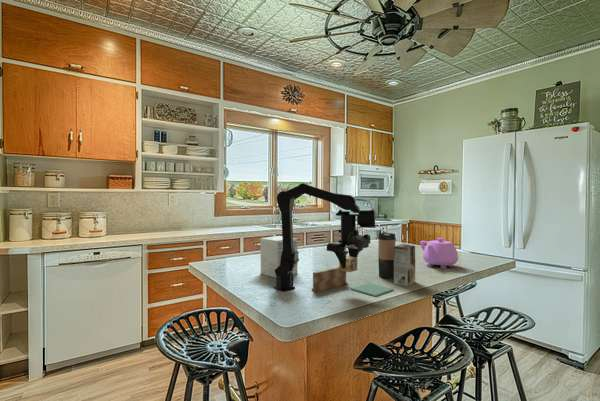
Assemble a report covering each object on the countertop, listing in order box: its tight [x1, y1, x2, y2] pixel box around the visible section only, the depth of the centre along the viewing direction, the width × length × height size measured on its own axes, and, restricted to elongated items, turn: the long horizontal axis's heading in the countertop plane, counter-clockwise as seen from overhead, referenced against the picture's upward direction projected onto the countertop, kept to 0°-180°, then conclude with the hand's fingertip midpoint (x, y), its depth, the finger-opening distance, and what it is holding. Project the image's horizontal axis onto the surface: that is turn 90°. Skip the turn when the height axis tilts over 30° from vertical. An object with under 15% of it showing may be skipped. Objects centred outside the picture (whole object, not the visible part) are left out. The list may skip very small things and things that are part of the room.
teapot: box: [419, 237, 459, 270], centre depth 170 cm, size 20×20×15 cm
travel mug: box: [377, 232, 396, 280], centre depth 148 cm, size 8×8×20 cm
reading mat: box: [350, 282, 394, 298], centre depth 127 cm, size 12×12×1 cm
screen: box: [311, 266, 349, 293], centre depth 131 cm, size 18×4×8 cm, turn 131°
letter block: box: [338, 255, 359, 273], centre depth 124 cm, size 5×5×5 cm
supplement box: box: [259, 235, 298, 279], centre depth 154 cm, size 13×13×18 cm
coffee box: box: [393, 243, 416, 287], centre depth 137 cm, size 9×6×16 cm
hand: (348, 267), depth 124 cm, fingers closed on letter block, 5 cm apart
